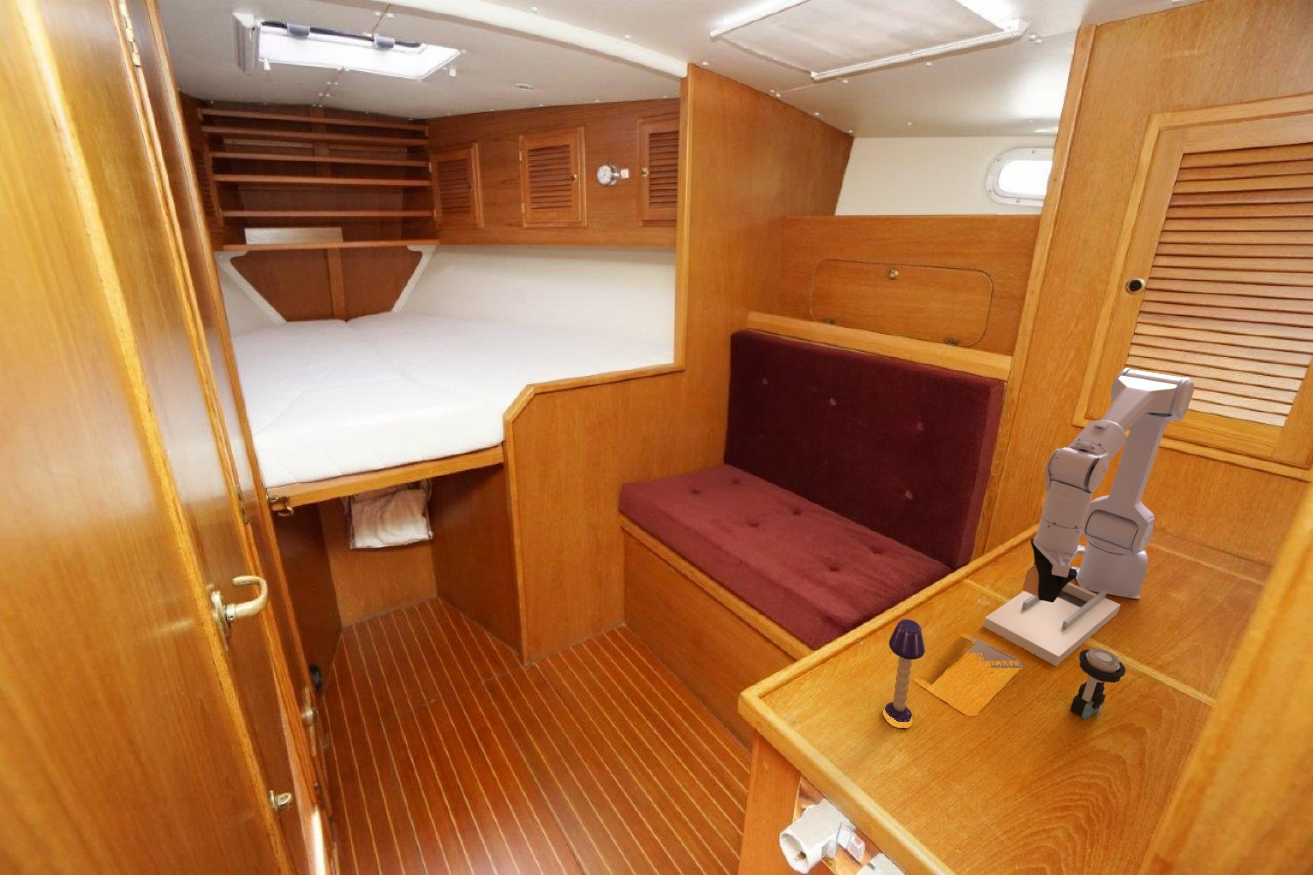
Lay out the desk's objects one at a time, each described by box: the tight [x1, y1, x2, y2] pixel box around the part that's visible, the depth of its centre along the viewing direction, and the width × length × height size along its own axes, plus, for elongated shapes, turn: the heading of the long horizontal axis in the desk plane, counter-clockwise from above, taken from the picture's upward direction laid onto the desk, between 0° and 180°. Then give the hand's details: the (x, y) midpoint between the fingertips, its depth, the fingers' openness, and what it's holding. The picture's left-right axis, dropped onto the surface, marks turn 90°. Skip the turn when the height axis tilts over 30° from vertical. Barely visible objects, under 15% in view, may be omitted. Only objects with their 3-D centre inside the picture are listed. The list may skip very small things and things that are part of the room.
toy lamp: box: [884, 618, 926, 722], centre depth 82 cm, size 5×5×17 cm
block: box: [1021, 564, 1039, 597], centre depth 97 cm, size 4×4×4 cm
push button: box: [1069, 647, 1126, 721], centre depth 84 cm, size 7×5×10 cm
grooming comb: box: [963, 636, 1024, 669], centre depth 93 cm, size 18×10×1 cm, turn 128°
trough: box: [982, 581, 1121, 667], centre depth 104 cm, size 24×12×4 cm, turn 123°
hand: (1043, 590), depth 97 cm, fingers closed on block, 5 cm apart
